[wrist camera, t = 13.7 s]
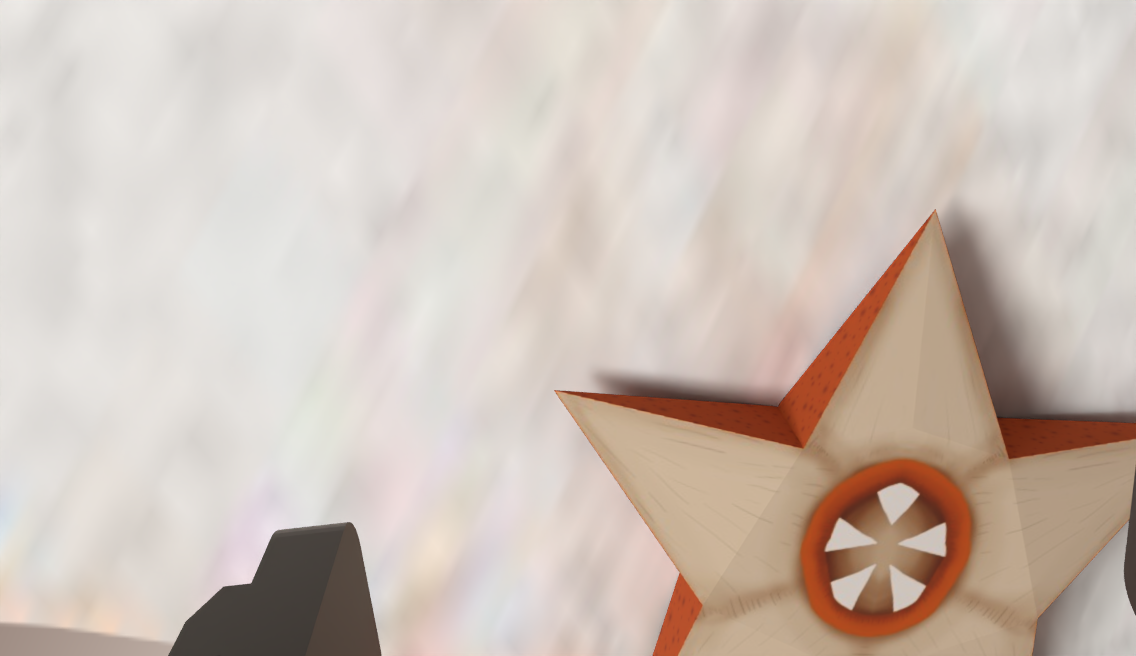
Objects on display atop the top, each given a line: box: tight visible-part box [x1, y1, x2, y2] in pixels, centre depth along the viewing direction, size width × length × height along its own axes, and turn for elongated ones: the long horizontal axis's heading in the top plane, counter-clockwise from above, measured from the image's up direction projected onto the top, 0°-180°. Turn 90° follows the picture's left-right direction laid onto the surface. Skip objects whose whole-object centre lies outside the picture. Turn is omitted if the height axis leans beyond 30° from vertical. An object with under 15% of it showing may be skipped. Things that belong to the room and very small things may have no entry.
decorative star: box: [554, 209, 1136, 656], centre depth 43 cm, size 29×4×30 cm
